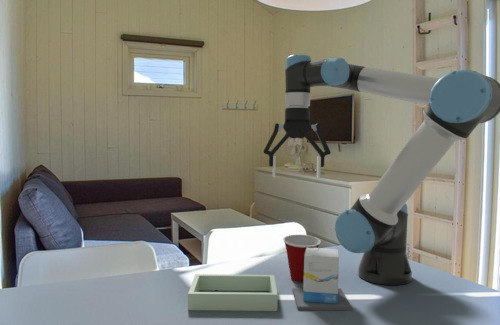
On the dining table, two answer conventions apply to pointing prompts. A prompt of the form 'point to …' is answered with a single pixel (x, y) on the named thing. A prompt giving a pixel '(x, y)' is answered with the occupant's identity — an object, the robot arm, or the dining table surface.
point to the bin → (233, 293)
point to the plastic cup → (298, 253)
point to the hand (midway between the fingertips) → (296, 177)
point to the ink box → (321, 275)
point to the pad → (304, 305)
